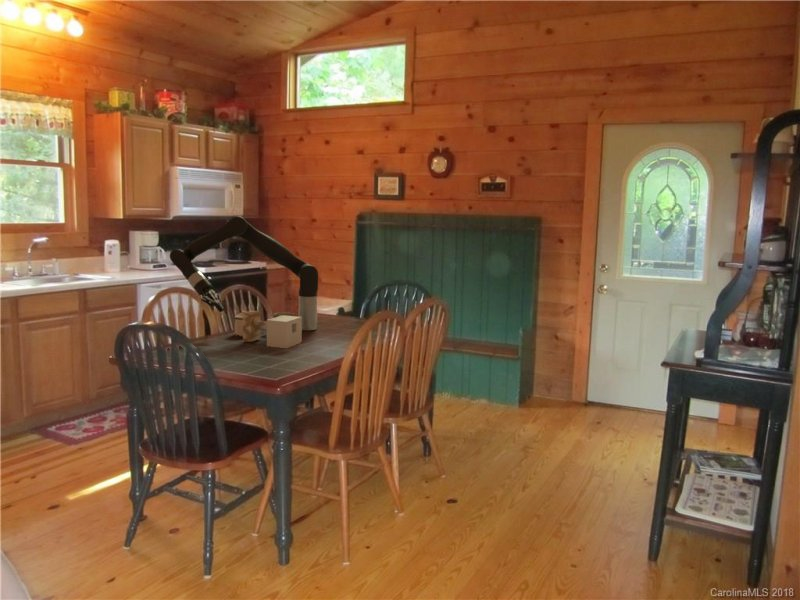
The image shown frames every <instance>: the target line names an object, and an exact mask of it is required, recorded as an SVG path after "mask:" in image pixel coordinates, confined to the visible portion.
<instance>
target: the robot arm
mask: <svg viewBox="0 0 800 600" xmlns="http://www.w3.org/2000/svg"><path fill="white" fill-rule="evenodd" d="M237 236H238V237H239V238H241V239H243V240H244V241H247V242H248V243H250V245H252V246H253V247H254V248H255V249H256V250H257V251H259V252H260V253H261V254H263V255H264V256H265V257H267V258H268V259H270V260H271V261H273V262H274V263H276V264H278V265H280V266H282V267H284V268H286V269H288V270H289V271H290V272H292V273H293V274H294V275H295V276H297V277H298V278H299V289H298V317H302V331H315V330H317V328H318V292H319V291H318V290H319V271H318V269H317V268H316V266H314V265H312V264H310V263H308V262H306V261H304V260H303V259H300V258H298V257H297V256H295V254H293V253H292V252H291V251H290V250H289V249H288V248H287V247H286V246H284V245H283V244H281V243H280V242H279V241H277V240H276V239H274V238H273V237H271V236H269V235H268V234H266V233H263V232H262V231H259V230H258V229H256V228H255V227H253V225H251V224H250V223H249V222H248V221H247V220H246V219H245V218H244V217H242V216H240V215H234V216H233V215H232V216H231V217H230V218H228V220H227V221H226V223H225V224H223V225H222V226H221V227H219V228H217V229H215V230H214V231H211V232H209V233H207V234H205V235H203V236H201V237H199V238H197V239H195V240H193V241H191V242H190V243H188V244H187V247H186V248H184V249H183V250H182V249H181V248H173V249H172V250H171V251H170V253H169V259H170V261H171V262H172V263H173V265H174V266H176V268H177V269H178V270H179V271H180V272H181V273H182V275H183V277H184V278H185V279H186V280H187V281H188V283H189V285H190V286H191V288H193V290H194V291H195V292H196V293H197V295H198V296H201V297H202V298H200V300H201V301H202V302H203V303H205V304H207V305H208V306H211V307H212V306H213V307H214V308H216V309H217V311H218V312H220V313H222V312H223V311H224V310H225V307H224V306H223V305H222V304H221V302H223V300H222V296H221V295H222V294H221V293H220V292H218V293H217V292H216V291H215V290H213V285H212V283H211V282H210V281H209V280H208V278H207V277H206V276H205V275H204V274H203V273H202V272H201V271H200V270H199V268H198V267H197V266H196V265H195V264H194V263H193V262H192V261H193V260H194V259H195V258H197V257H199V256H200V255H202V254H203V253H205V252H207V251H209V250H211V249H212V248H214V247H216V246H217V245H219V244H221V243H222V242H224V241H226V240H228V239H232V238H234V237H237Z"/></svg>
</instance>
